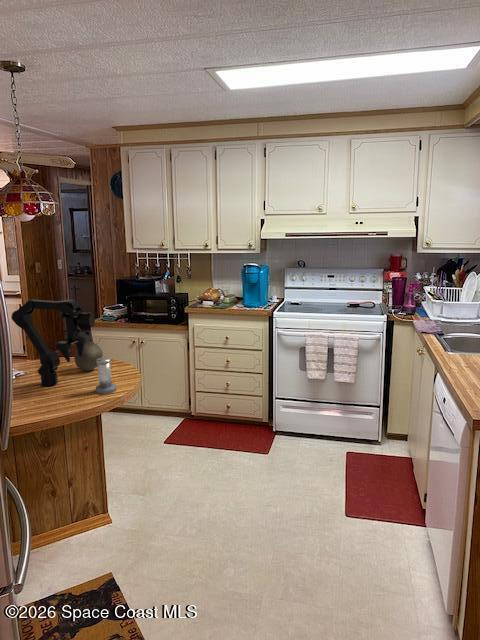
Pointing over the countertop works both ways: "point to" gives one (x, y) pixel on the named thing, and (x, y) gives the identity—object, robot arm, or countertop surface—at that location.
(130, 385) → the countertop surface
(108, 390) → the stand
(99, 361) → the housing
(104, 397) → the countertop surface
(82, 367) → the grey round ball
